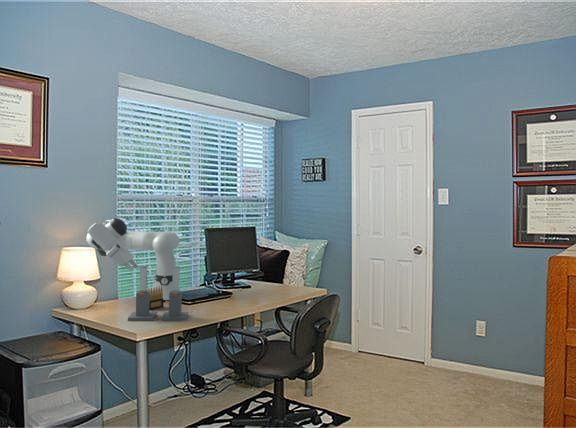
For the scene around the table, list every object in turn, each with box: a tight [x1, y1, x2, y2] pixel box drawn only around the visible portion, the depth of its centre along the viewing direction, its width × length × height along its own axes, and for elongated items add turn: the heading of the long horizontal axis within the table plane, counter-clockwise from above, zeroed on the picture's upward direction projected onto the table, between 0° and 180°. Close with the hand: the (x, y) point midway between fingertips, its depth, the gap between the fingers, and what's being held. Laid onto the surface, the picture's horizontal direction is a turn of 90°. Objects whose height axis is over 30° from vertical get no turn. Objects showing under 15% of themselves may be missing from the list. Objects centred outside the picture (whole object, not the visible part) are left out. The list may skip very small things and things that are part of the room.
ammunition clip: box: [147, 286, 164, 311], centre depth 272 cm, size 11×2×12 cm, turn 146°
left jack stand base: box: [127, 290, 158, 322], centre depth 252 cm, size 12×12×13 cm
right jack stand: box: [160, 265, 189, 322], centre depth 253 cm, size 12×12×26 cm
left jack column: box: [138, 265, 148, 293], centre depth 251 cm, size 3×3×17 cm
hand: (134, 268), depth 250 cm, fingers open, 8 cm apart
